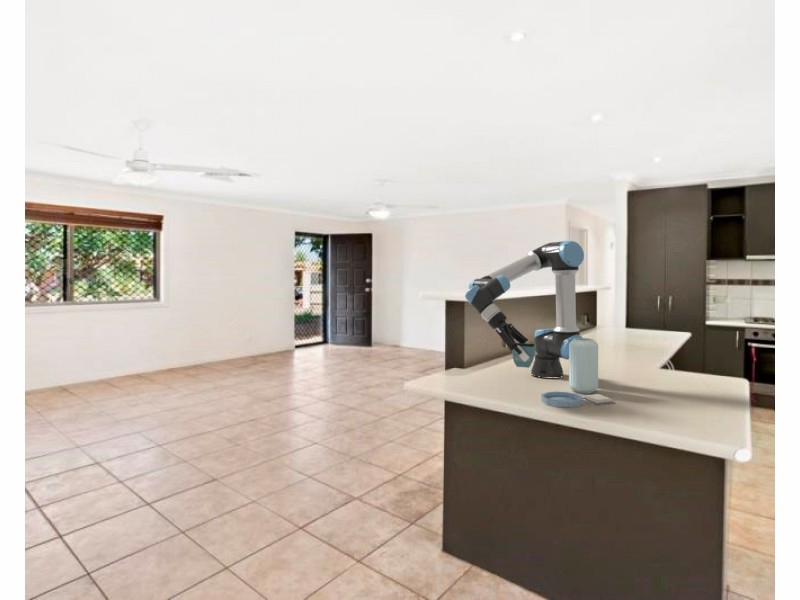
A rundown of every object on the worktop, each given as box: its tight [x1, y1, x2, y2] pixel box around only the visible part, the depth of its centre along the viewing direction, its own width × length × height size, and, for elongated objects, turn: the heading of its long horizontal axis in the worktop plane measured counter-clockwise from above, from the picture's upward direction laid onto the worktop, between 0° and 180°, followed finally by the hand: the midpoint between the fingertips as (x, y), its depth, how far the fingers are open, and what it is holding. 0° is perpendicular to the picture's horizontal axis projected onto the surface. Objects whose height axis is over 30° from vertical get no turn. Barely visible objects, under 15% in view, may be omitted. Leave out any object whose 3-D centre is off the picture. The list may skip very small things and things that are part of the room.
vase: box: [568, 337, 599, 394], centre depth 201 cm, size 12×12×22 cm
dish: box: [541, 390, 584, 408], centre depth 186 cm, size 15×15×2 cm
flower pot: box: [511, 342, 536, 369], centre depth 193 cm, size 9×9×9 cm
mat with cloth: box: [582, 393, 616, 406], centre depth 186 cm, size 10×8×2 cm
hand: (531, 357), depth 191 cm, fingers closed on flower pot, 10 cm apart
